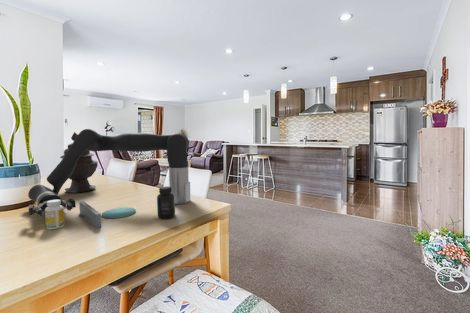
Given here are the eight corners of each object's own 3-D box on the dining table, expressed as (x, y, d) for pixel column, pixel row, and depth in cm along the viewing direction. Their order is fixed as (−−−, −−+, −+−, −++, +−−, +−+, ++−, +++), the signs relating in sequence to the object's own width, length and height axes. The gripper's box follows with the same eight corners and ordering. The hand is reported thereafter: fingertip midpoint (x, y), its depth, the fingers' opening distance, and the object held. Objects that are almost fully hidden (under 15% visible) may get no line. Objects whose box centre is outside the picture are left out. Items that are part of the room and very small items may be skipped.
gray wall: (79, 213, 105) (79, 201, 105) (83, 212, 106) (83, 200, 106) (96, 228, 88) (95, 214, 88) (101, 227, 89) (100, 213, 89)
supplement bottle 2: (178, 215, 102) (177, 186, 101) (168, 220, 96) (168, 189, 95) (164, 213, 105) (163, 185, 103) (153, 218, 98) (152, 188, 97)
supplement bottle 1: (48, 231, 86) (46, 203, 85) (44, 227, 89) (42, 201, 88) (66, 226, 90) (64, 200, 89) (61, 223, 93) (60, 198, 93)
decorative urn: (104, 184, 161) (98, 130, 155) (95, 194, 141) (87, 132, 135) (69, 187, 156) (61, 131, 150) (54, 198, 137) (44, 134, 131)
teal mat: (141, 209, 110) (141, 208, 110) (123, 219, 97) (123, 218, 97) (115, 208, 112) (115, 206, 112) (94, 217, 100) (93, 216, 100)
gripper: (25, 195, 96) (29, 204, 84) (68, 189, 106) (78, 196, 94) (26, 214, 97) (31, 225, 85) (70, 207, 106) (79, 216, 95)
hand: (55, 210), depth 90 cm, fingers open, 8 cm apart
